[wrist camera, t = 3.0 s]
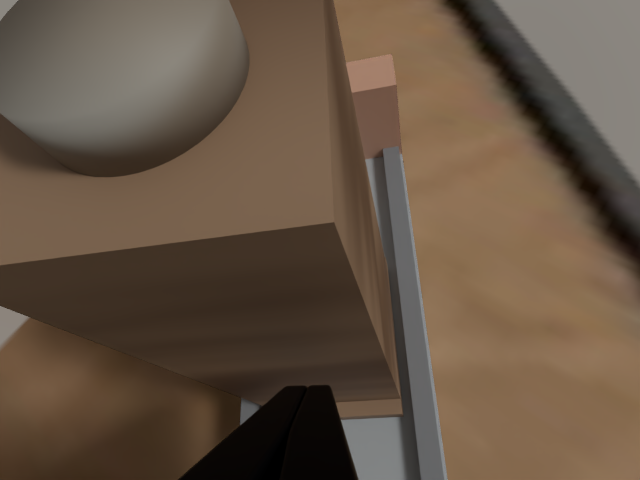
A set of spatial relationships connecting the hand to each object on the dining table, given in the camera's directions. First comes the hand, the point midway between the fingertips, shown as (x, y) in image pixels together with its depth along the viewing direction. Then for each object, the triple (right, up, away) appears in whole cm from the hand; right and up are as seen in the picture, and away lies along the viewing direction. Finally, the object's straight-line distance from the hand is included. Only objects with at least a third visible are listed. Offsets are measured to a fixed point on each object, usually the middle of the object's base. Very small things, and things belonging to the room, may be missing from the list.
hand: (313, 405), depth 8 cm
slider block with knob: (+1, 0, +6) cm, 6 cm away
